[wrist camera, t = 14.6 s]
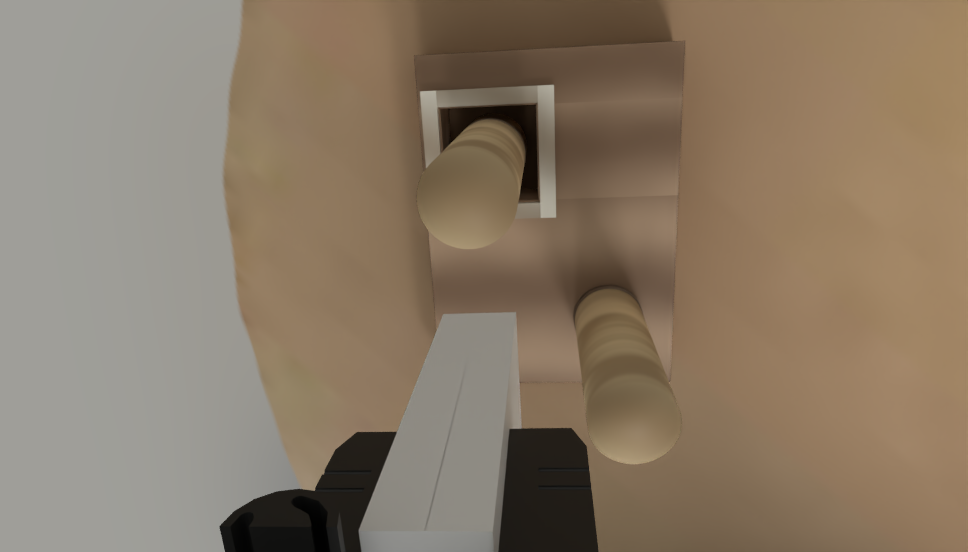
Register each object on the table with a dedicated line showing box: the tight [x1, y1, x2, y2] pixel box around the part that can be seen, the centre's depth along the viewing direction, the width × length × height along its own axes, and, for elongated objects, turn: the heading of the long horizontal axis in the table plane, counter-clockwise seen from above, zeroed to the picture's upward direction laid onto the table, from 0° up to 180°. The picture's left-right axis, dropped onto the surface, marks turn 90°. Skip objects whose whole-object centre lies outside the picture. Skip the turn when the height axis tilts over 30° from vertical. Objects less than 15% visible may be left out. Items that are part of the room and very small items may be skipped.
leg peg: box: [416, 113, 527, 249], centre depth 30 cm, size 4×4×14 cm
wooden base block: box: [414, 41, 685, 464], centre depth 31 cm, size 18×13×14 cm
